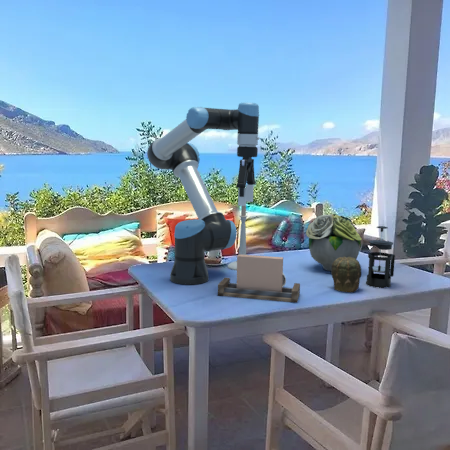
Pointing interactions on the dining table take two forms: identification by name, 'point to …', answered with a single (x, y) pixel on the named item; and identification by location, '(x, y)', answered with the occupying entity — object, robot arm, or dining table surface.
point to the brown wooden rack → (258, 292)
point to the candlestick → (241, 238)
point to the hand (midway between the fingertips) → (245, 203)
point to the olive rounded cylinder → (346, 274)
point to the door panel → (259, 273)
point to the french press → (376, 278)
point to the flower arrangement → (332, 239)
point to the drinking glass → (283, 280)
